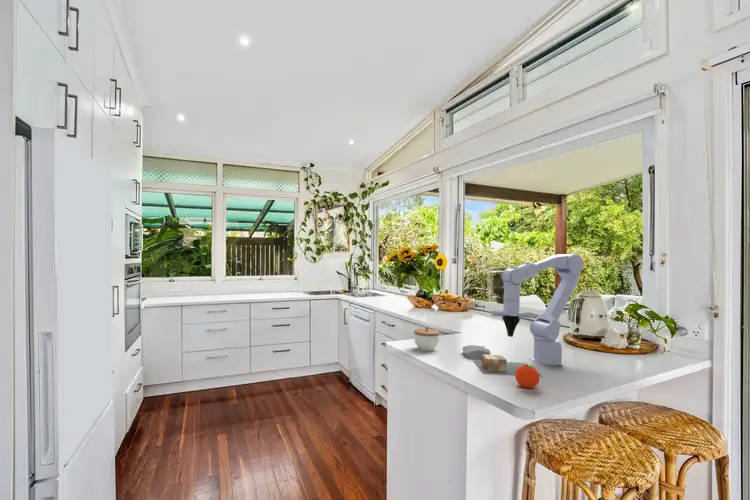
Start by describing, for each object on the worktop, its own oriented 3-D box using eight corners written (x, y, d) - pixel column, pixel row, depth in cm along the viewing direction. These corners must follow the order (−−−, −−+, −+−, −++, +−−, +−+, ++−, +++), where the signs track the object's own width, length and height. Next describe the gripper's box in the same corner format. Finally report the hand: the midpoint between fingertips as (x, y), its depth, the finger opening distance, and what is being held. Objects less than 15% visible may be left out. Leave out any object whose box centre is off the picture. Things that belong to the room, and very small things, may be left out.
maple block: (501, 355, 134) (482, 354, 134) (506, 359, 128) (486, 358, 128) (501, 366, 134) (481, 365, 134) (506, 371, 128) (486, 370, 128)
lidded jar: (429, 345, 164) (429, 324, 164) (444, 351, 154) (444, 328, 154) (409, 347, 159) (409, 325, 159) (422, 353, 149) (423, 330, 150)
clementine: (533, 383, 117) (534, 361, 117) (547, 391, 110) (548, 367, 110) (510, 384, 115) (511, 361, 115) (523, 392, 108) (523, 368, 109)
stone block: (468, 365, 142) (493, 360, 142) (465, 352, 142) (491, 348, 142) (460, 357, 154) (484, 353, 154) (458, 346, 154) (482, 342, 154)
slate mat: (525, 363, 139) (525, 362, 139) (543, 377, 123) (543, 376, 123) (472, 361, 140) (472, 360, 140) (483, 374, 124) (483, 373, 124)
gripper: (526, 300, 143) (525, 335, 142) (489, 298, 143) (488, 332, 143) (534, 302, 136) (532, 338, 135) (494, 300, 136) (493, 336, 136)
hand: (510, 336), depth 139 cm, fingers closed
